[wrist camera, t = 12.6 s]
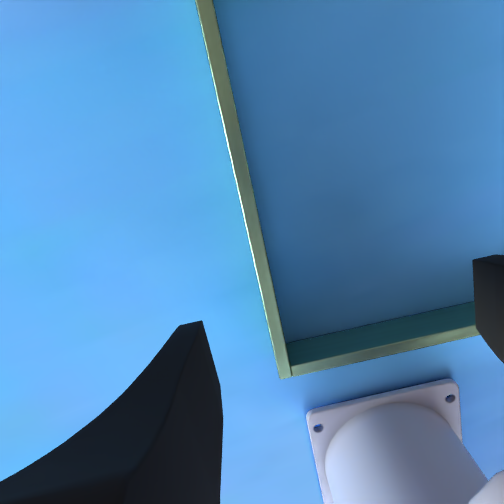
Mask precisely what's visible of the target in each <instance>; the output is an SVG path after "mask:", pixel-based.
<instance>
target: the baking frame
mask: <svg viewBox="0 0 504 504" xmlns="http://www.w3.org/2000/svg"><path fill="white" fill-rule="evenodd" d="M195 2H196V7H197V11H198V16H199V20H200V25H201V29H202V34H203V38H204V43H205V47H206V51H207V56H208V60H209V65H210V69H211V74H212V78H213V83H214V87H215V92H216V96H217V101H218V105H219V110H220V114H221V119H222V123H223V128H224V132H225V136H226V141H227V145H228V150H229V154H230V159H231V163H232V168H233V172H234V177H235V181H236V186H237V190H238V195H239V199H240V204H241V208H242V212H243V217H244V221H245V226H246V230H247V235H248V239H249V244H250V248H251V253H252V257H253V262H254V266H255V271H256V275H257V280H258V284H259V288H260V293H261V297H262V302H263V306H264V311H265V315H266V320H267V324H268V329H269V333H270V338H271V342H272V347H273V351H274V356H275V360H276V364H277V369H278V373H279V378H280V379H285V378H289V377H292V376H293V377H295V376H299V375H304V374H308V373H312V372H317V371H321V370H326V369H330V368H335V367H339V366H344V365H348V364H353V363H357V362H361V361H366V360H370V359H375V358H379V357H384V356H388V355H393V354H397V353H402V352H406V351H410V350H415V349H419V348H424V347H428V346H433V345H437V344H442V343H446V342H450V341H455V340H459V339H464V338H468V337H473V336H477V335H480V333H479V332H478V330H477V329H476V323H475V302H469V303H465V304H460V305H456V306H452V307H447V308H443V309H438V310H434V311H429V312H425V313H420V314H416V315H411V316H407V317H403V318H398V319H394V320H389V321H385V322H380V323H376V324H371V325H367V326H362V327H358V328H354V329H349V330H345V331H340V332H336V333H331V334H327V335H322V336H318V337H313V338H309V339H304V340H300V341H296V342H291V343H287V344H286V343H285V338H284V333H283V329H282V324H281V319H280V314H279V310H278V305H277V300H276V296H275V291H274V286H273V281H272V277H271V272H270V267H269V263H268V258H267V253H266V248H265V244H264V239H263V234H262V229H261V225H260V220H259V215H258V211H257V206H256V201H255V196H254V192H253V187H252V182H251V177H250V173H249V168H248V163H247V159H246V154H245V149H244V144H243V140H242V135H241V130H240V126H239V121H238V116H237V111H236V107H235V102H234V97H233V92H232V88H231V83H230V78H229V74H228V69H227V64H226V59H225V55H224V50H223V45H222V41H221V36H220V31H219V26H218V22H217V17H216V12H215V7H214V3H213V0H195Z"/></svg>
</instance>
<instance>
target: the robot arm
mask: <svg viewBox="0 0 504 504" xmlns="http://www.w3.org/2000/svg"><path fill="white" fill-rule="evenodd" d="M473 281H474V302H475V323H476V329H477V330H478V332H479V333H480V335H481V336H482V337H483V339H484V340H485V342H486V343H487V344H488V346H489V347H490V348H491V349H492V351H493V352H494V353H495V355H496V356H497V357H498V358H499V359H500V360H501V361H502V362H503V363H504V255H491V256H487V257H482V258H478V259H474V260H473ZM450 394H451V396H450V397H448V398H446V397H447V396H448V395H450ZM306 419H307V424H308V429H309V434H310V439H311V444H312V448H313V453H314V458H315V463H316V468H317V473H318V477H319V482H320V487H321V492H322V497H323V501H324V504H504V470H502V471H500V472H498V473H496V474H495V475H494V476H493V477H492V478H491V479H490V480H489V481H488V480H487V478H486V477H485V475H484V474H483V472H482V471H481V469H480V468H479V467H478V465H477V464H476V462H475V461H474V459H473V458H472V456H471V455H470V454H469V452H468V451H467V449H466V448H465V446H464V445H463V444H462V429H461V413H460V398H459V387H458V385H457V383H456V382H455V381H454V380H453V379H443V380H438V381H434V382H429V383H425V384H421V385H416V386H412V387H407V388H403V389H398V390H394V391H389V392H385V393H380V394H376V395H372V396H367V397H363V398H358V399H354V400H349V401H345V402H340V403H336V404H332V405H327V406H323V407H318V408H314V409H311V410H310V411H309V412H308V413H307V415H306ZM317 424H321V426H319V427H314V426H315V425H317ZM222 439H223V410H222V399H221V389H220V383H219V379H218V376H217V372H216V368H215V365H214V361H213V358H212V354H211V350H210V347H209V343H208V340H207V336H206V333H205V329H204V325H203V322H202V321H197V322H193V323H188V324H184V325H179V326H178V328H177V329H176V330H175V331H174V333H173V334H172V335H171V336H170V338H169V339H168V340H167V342H166V343H165V344H164V346H163V347H162V348H161V350H160V351H159V352H158V353H157V355H156V356H155V357H154V359H153V360H152V361H151V362H150V364H149V365H148V366H147V367H146V368H145V369H144V370H143V372H142V373H141V374H140V375H139V376H138V377H137V378H136V380H135V381H134V382H133V383H132V384H131V385H130V386H129V387H128V388H127V389H126V390H125V392H124V393H123V394H122V395H121V396H119V397H118V398H117V399H116V400H115V401H114V402H113V403H112V404H111V405H110V406H109V407H108V408H107V409H105V410H104V411H103V412H102V413H101V414H100V415H99V416H98V417H96V418H95V419H94V420H93V421H91V422H90V423H89V424H87V425H86V426H85V427H84V428H82V429H81V430H80V431H78V432H77V433H76V434H74V435H73V436H72V437H71V438H69V439H68V440H67V441H65V442H64V443H62V444H61V445H60V446H58V447H57V448H55V449H54V450H52V451H51V452H49V453H48V454H46V455H45V456H43V457H41V458H40V459H38V460H37V461H35V462H33V463H32V464H30V465H29V466H27V467H25V468H24V469H22V470H20V471H19V472H17V473H15V474H14V475H12V476H10V477H8V478H6V479H4V480H3V481H1V482H0V504H220V485H221V462H222Z"/></svg>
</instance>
